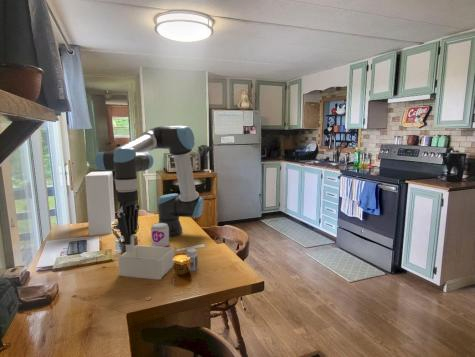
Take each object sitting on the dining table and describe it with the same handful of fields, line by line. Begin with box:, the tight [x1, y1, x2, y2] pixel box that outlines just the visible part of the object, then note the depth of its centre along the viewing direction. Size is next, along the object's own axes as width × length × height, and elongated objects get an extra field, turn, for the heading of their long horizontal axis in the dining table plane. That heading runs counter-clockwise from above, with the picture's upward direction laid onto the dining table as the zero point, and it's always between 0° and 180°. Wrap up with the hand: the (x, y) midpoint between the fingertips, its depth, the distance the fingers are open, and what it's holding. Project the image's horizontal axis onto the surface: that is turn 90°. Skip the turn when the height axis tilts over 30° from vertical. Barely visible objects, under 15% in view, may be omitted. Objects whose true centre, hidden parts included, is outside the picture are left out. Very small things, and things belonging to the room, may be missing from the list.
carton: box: [117, 244, 175, 281], centre depth 128 cm, size 14×19×8 cm
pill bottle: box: [185, 248, 199, 272], centre depth 129 cm, size 5×5×8 cm
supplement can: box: [150, 222, 171, 248], centre depth 144 cm, size 8×8×15 cm
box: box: [84, 170, 116, 236], centre depth 185 cm, size 22×12×35 cm, turn 17°
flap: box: [109, 254, 158, 260], centre depth 117 cm, size 7×16×1 cm, turn 79°
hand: (130, 251), depth 114 cm, fingers closed
